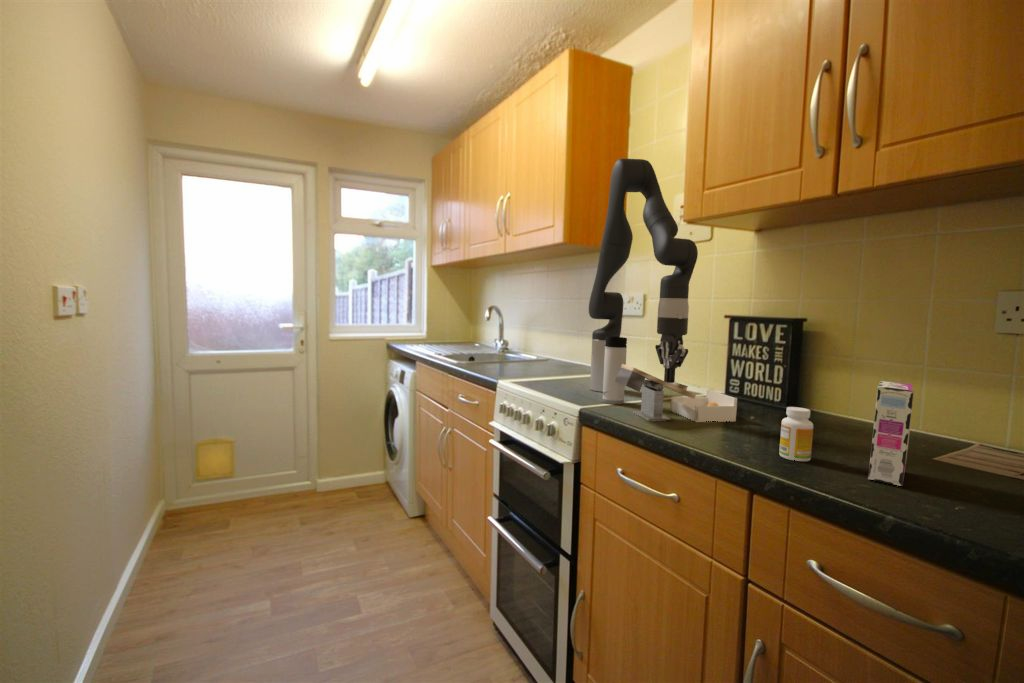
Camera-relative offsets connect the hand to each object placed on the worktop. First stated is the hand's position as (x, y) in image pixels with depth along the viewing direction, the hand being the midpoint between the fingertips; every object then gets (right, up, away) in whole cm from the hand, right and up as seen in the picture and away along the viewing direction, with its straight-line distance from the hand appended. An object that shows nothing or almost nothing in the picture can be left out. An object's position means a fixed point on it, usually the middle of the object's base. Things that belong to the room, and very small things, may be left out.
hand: (669, 382), depth 124 cm
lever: (-5, -4, -1) cm, 6 cm away
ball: (+13, -7, +3) cm, 15 cm away
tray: (+10, -9, +3) cm, 14 cm away
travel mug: (-11, -8, +17) cm, 22 cm away
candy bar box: (+25, -13, -40) cm, 49 cm away
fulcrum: (-5, -9, 0) cm, 10 cm away
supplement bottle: (+14, -12, -31) cm, 36 cm away
